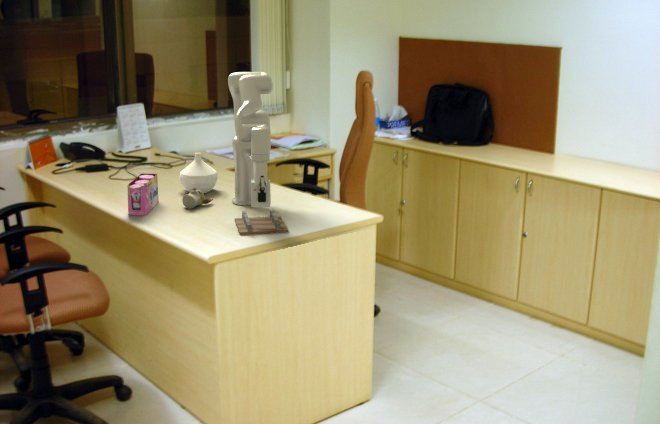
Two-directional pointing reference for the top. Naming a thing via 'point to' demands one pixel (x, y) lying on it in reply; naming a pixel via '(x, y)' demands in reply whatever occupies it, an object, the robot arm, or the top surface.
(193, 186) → the vase
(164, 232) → the top surface
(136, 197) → the gum box
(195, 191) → the ceramic sculpture
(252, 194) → the small box
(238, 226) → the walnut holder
